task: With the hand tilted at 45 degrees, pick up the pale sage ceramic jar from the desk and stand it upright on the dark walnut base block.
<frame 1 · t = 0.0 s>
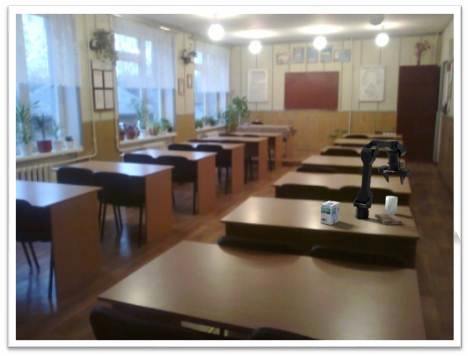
hand: (395, 183, 269), 15 cm above the table, tool pointing down, fingers open, 9 cm apart
walnut base block: (387, 220, 244), on the table
light bulb box: (329, 222, 242), on the table
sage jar: (390, 213, 259), on the table
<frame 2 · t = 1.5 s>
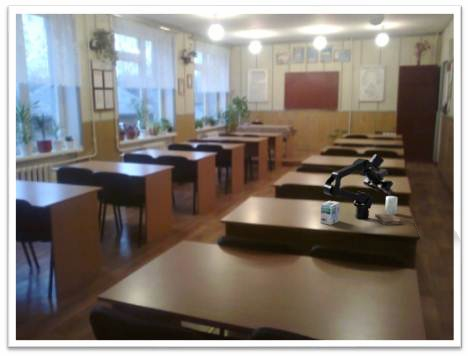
hand: (384, 192, 254), 13 cm above the table, tool tilted 45°, fingers open, 9 cm apart
nothing on the table moved.
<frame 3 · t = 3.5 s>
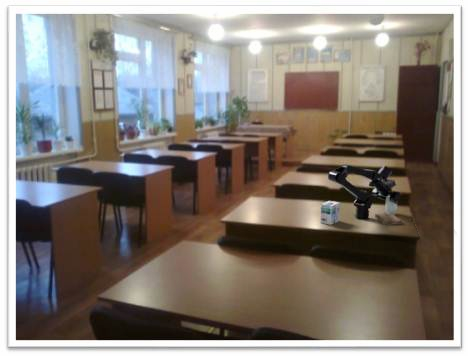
hand: (393, 202, 258), 7 cm above the table, tool tilted 45°, fingers closed on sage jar, 6 cm apart
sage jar: (390, 213, 259), on the table, touching gripper
everything else where it was.
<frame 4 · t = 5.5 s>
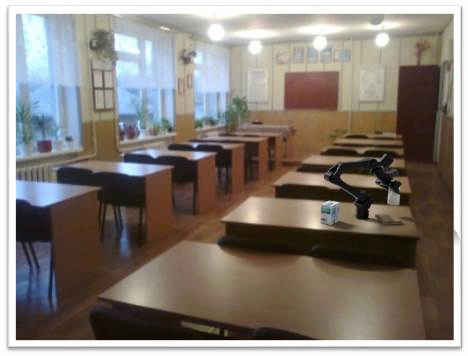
hand: (396, 192, 252), 14 cm above the table, tool tilted 45°, fingers closed on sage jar, 6 cm apart
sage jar: (393, 203, 253), point 7 cm above the table, touching gripper
everything else where it was.
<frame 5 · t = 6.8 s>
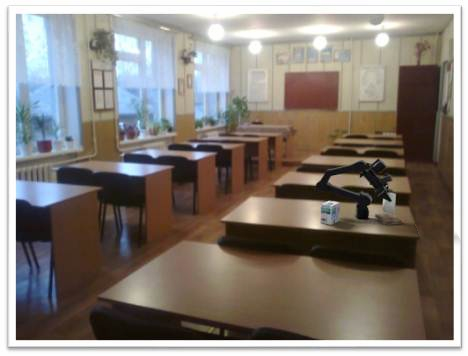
hand: (391, 200, 241), 12 cm above the table, tool tilted 45°, fingers closed on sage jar, 6 cm apart
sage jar: (388, 211, 243), point 5 cm above the table, touching gripper
everything else where it was.
when the fingers open (10 cm above the table, at t = 7.7 s): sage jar drops 1 cm, resting on walnut base block.
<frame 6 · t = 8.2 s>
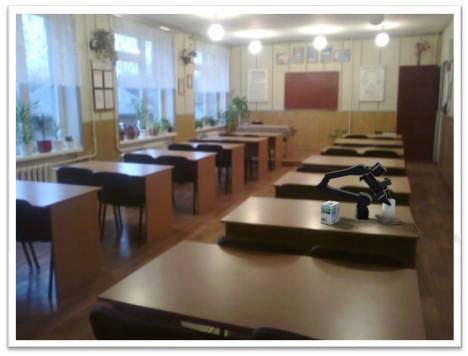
hand: (391, 203, 242), 10 cm above the table, tool tilted 45°, fingers open, 9 cm apart
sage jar: (387, 217, 244), point 2 cm above the table, touching walnut base block
everything else where it was.
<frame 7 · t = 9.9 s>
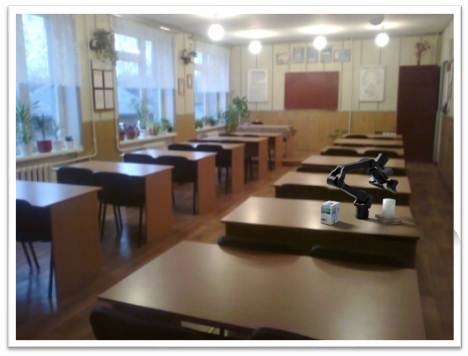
hand: (390, 191, 256), 14 cm above the table, tool tilted 45°, fingers open, 9 cm apart
nothing on the table moved.
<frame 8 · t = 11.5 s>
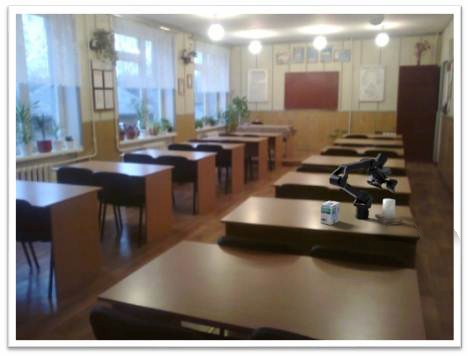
hand: (388, 190, 258), 14 cm above the table, tool tilted 45°, fingers open, 9 cm apart
nothing on the table moved.
at the end: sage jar inside the target area on the walnut base block (0.0 cm from its centre), point 2.0 cm above the walnut base block's base; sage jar tilted 0°; the gripper is holding nothing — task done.
